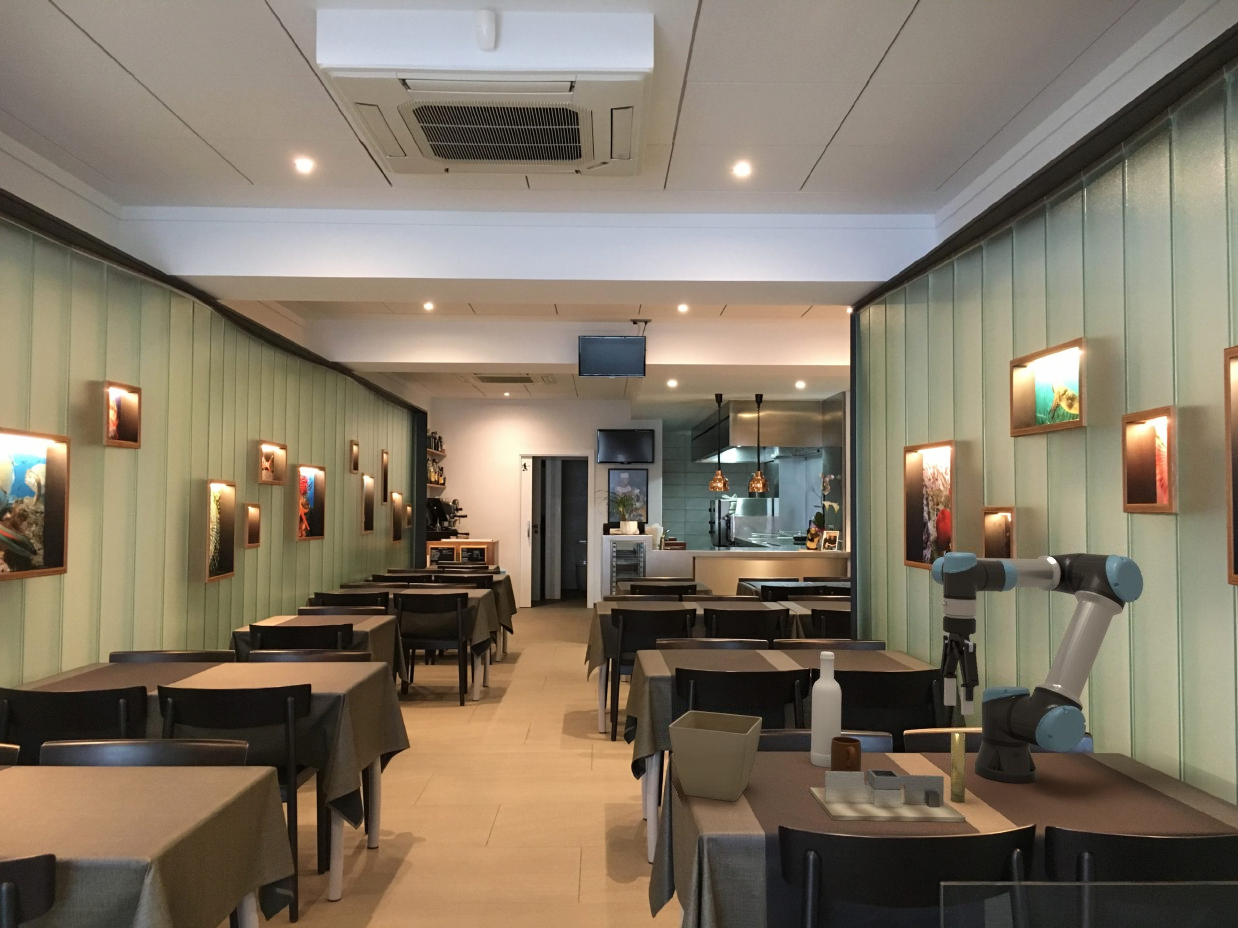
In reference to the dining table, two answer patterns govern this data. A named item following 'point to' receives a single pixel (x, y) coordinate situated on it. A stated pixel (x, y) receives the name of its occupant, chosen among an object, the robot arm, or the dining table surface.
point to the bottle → (825, 712)
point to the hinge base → (864, 791)
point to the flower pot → (714, 753)
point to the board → (888, 811)
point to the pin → (958, 767)
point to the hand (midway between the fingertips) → (958, 709)
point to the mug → (846, 754)
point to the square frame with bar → (908, 784)
